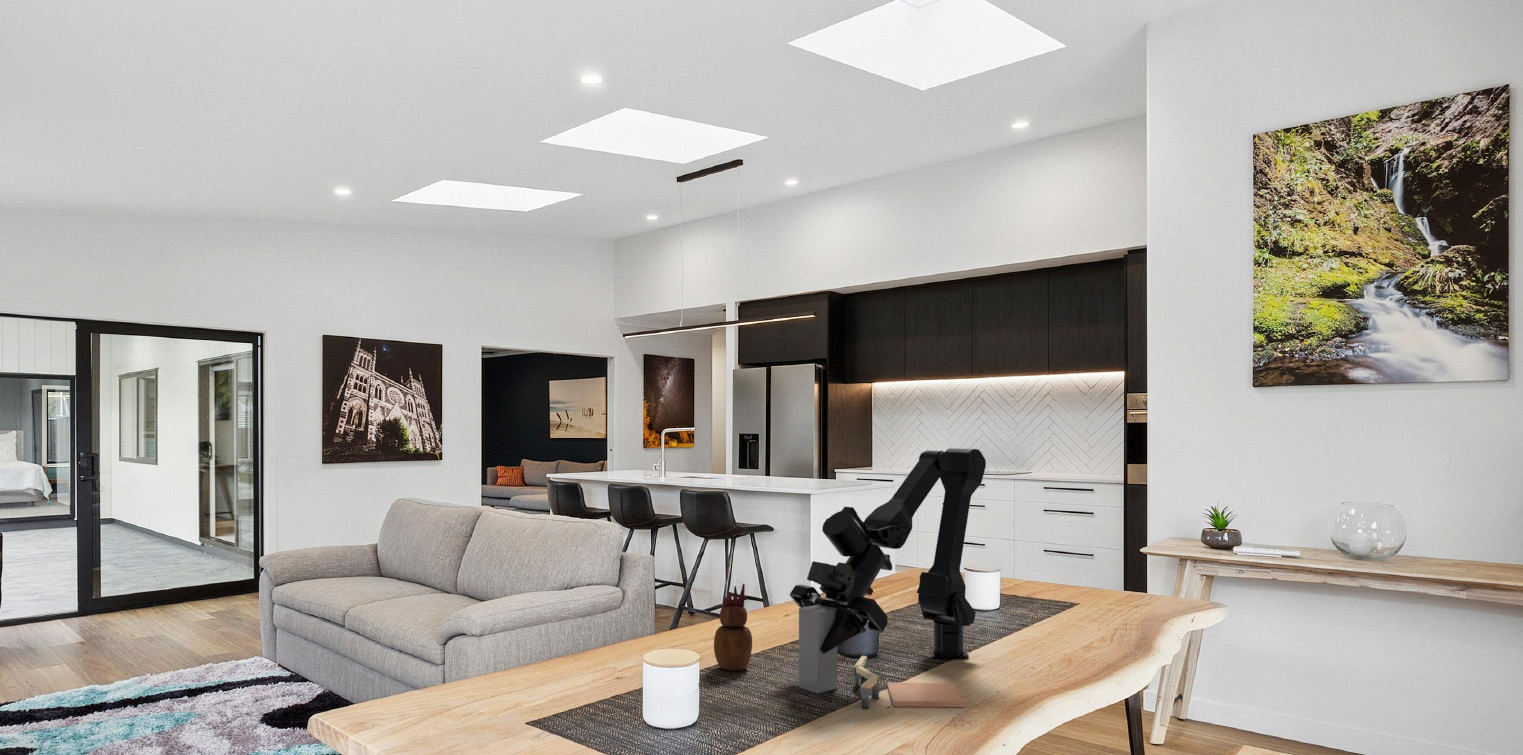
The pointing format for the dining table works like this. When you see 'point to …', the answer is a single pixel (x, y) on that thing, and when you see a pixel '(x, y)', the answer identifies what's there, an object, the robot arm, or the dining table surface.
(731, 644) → the wooden figurine
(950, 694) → the terracotta tile
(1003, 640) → the dining table surface
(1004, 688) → the dining table surface
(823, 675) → the gray pillar
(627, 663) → the dining table surface
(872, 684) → the bent wire
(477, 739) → the dining table surface
